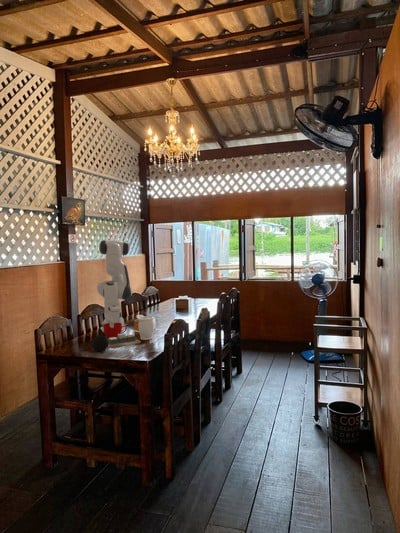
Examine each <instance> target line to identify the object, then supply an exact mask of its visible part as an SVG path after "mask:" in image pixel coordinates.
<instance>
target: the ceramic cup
mask: <svg viewBox="0 0 400 533" xmlns="http://www.w3.org/2000/svg"><path fill="white" fill-rule="evenodd" d="M102 327H103V329H104V332H103V333H104V336H105V337H106V338H107V339H109V338H113V337H118V334H122V333H124V334H125V332H127V330H128V329H127V328H128V327H127V326H126V325H124V326H122V323H114V327H113V328H111V327H110V324H109V323H106V324H104V325H102ZM122 327H125V329H124V330H123V331H121V330H122Z"/></svg>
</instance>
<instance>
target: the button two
mask: <svg viewBox="0 0 400 533" xmlns="http://www.w3.org/2000/svg"><path fill="white" fill-rule="evenodd" d="M121 333H122V332H121ZM126 335H127V334H126V333H125V332H124V333H122V334H118V338H119V339H121V338H126Z"/></svg>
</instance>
